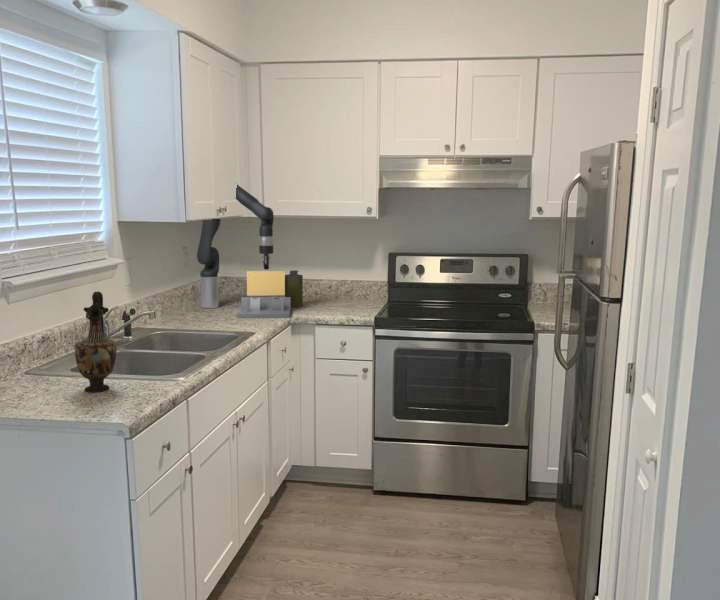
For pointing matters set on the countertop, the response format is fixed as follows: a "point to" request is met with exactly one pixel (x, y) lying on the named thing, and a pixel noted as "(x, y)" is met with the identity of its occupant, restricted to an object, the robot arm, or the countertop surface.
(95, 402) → the countertop surface
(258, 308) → the silver jaw
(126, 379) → the countertop surface
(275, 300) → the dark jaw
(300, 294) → the canister
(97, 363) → the vase
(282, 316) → the housing base
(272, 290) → the lid
